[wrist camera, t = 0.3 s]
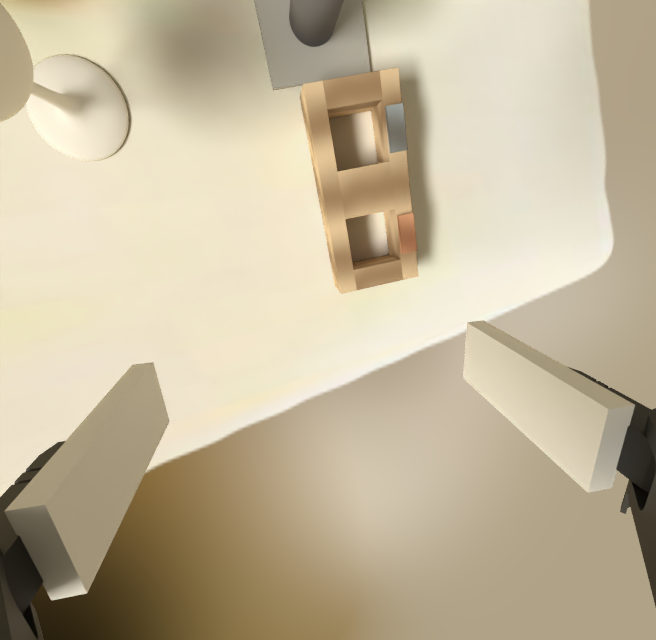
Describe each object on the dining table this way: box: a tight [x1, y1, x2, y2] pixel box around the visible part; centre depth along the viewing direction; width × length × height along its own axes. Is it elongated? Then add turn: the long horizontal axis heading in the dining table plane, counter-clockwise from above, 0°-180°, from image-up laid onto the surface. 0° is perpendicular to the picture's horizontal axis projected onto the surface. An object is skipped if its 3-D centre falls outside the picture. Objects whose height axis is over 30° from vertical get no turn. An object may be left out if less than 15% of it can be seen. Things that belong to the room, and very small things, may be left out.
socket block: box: [300, 68, 418, 294], centre depth 36 cm, size 20×9×5 cm, turn 11°
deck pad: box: [255, 0, 371, 90], centre depth 32 cm, size 10×10×1 cm
